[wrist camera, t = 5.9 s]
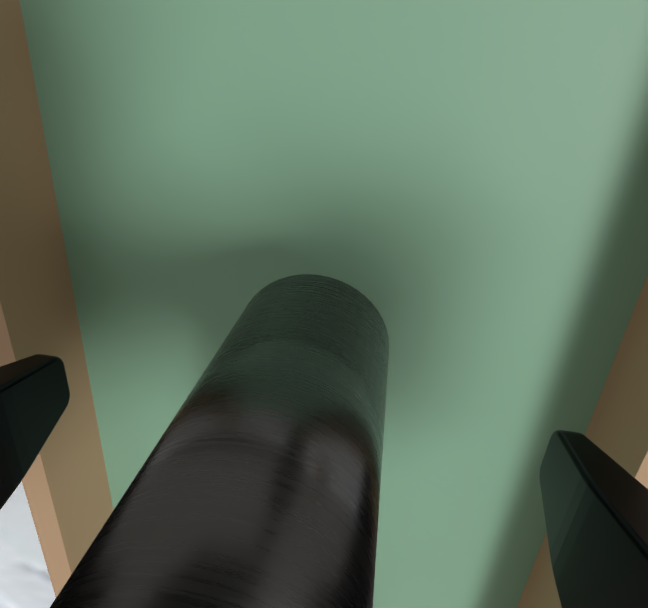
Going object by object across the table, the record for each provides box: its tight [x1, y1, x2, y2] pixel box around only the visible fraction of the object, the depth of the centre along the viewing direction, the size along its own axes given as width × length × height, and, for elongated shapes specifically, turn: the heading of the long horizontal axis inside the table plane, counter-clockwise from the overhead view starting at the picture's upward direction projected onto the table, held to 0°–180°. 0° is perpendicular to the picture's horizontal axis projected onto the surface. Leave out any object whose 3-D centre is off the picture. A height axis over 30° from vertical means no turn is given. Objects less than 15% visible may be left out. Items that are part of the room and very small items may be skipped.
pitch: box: [0, 0, 648, 608], centre depth 12 cm, size 16×31×4 cm, turn 176°
